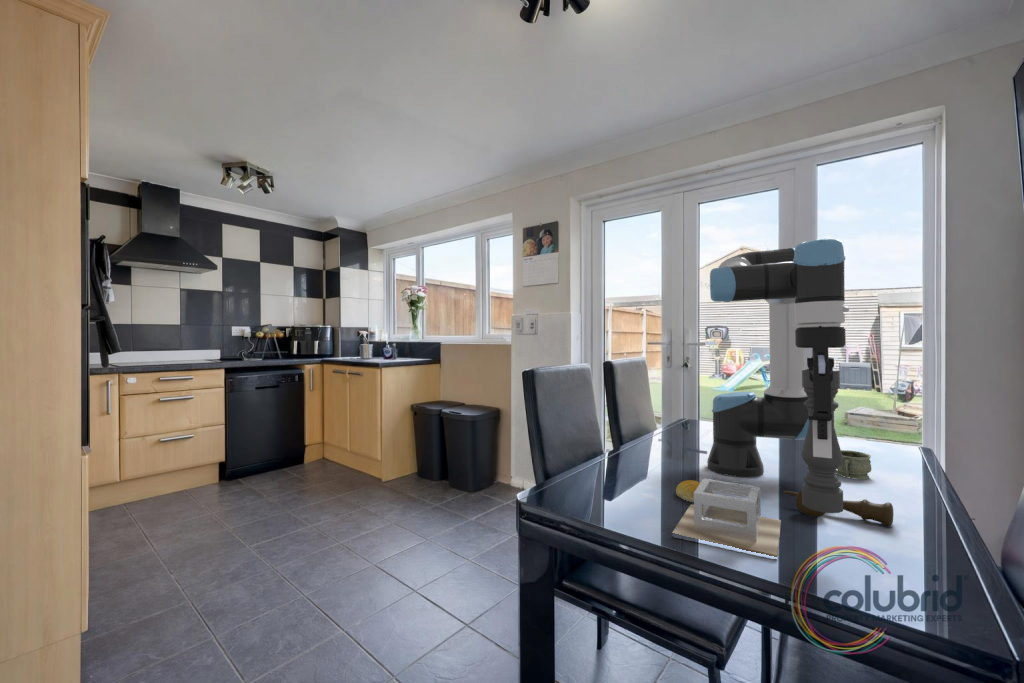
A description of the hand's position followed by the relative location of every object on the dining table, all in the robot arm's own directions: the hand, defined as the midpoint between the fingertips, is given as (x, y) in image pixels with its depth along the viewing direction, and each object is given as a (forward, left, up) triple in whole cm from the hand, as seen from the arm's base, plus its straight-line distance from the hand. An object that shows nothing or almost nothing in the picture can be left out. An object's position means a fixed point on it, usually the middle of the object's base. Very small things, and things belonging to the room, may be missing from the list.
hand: (821, 452), depth 81 cm
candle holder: (0, 0, -10) cm, 10 cm away
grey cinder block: (-2, -16, -18) cm, 24 cm away
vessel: (-61, +9, -19) cm, 64 cm away
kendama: (-23, +3, -19) cm, 30 cm away
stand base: (-2, -16, -18) cm, 24 cm away
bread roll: (-19, -26, -19) cm, 37 cm away
